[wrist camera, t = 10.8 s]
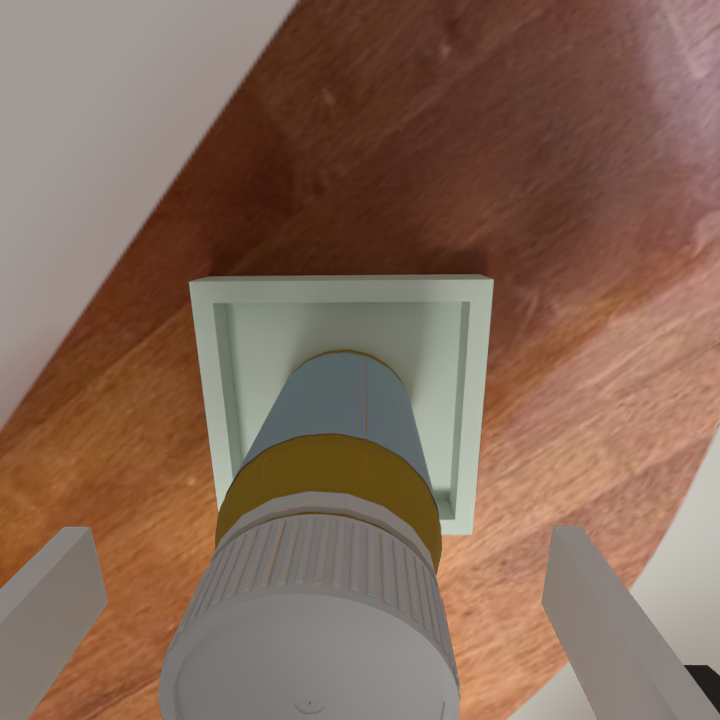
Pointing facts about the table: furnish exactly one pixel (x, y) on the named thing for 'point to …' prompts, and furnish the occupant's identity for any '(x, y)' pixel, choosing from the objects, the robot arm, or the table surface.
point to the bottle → (322, 566)
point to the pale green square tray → (359, 333)
